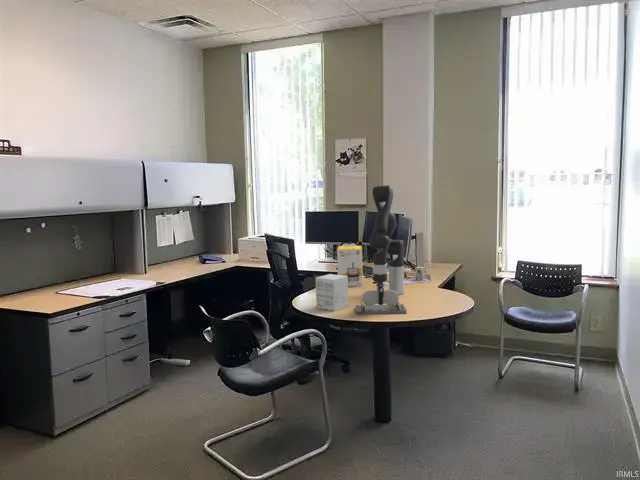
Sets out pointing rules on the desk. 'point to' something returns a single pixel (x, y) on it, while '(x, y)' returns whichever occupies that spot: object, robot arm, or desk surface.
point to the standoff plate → (380, 308)
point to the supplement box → (332, 292)
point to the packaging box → (350, 264)
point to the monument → (419, 277)
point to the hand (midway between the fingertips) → (380, 303)
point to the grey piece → (372, 298)
